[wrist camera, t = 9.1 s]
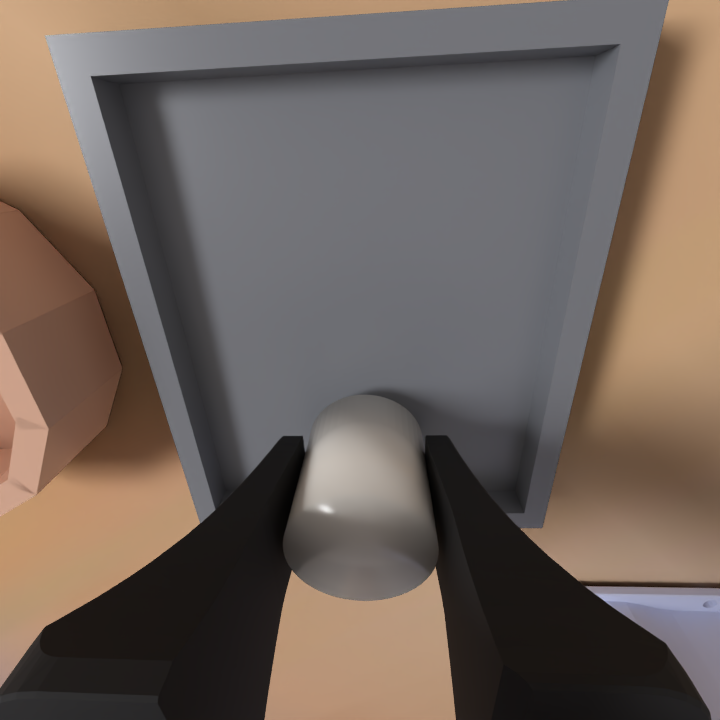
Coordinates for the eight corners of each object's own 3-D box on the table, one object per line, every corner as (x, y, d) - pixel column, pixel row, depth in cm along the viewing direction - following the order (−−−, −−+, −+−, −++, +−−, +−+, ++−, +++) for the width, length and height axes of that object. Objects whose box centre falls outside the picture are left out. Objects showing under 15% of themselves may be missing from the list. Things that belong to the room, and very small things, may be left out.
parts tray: (625, 18, 9) (670, -7, 7) (527, 495, 15) (542, 528, 14) (93, 53, 9) (44, 35, 8) (216, 494, 16) (200, 525, 14)
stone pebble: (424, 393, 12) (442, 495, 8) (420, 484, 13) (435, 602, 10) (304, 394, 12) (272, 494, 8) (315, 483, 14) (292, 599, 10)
